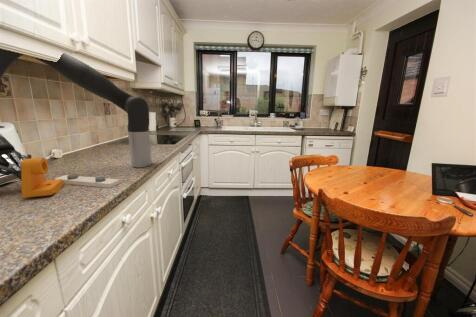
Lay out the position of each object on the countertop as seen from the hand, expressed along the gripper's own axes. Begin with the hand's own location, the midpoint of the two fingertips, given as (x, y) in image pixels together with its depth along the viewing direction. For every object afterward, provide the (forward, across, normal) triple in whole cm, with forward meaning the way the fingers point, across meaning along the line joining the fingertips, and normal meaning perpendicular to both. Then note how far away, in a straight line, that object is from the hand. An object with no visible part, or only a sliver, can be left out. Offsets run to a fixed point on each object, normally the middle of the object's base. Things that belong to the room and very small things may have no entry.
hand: (29, 180), depth 72 cm
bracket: (+7, 0, -1) cm, 7 cm away
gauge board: (+11, +10, -6) cm, 16 cm away
